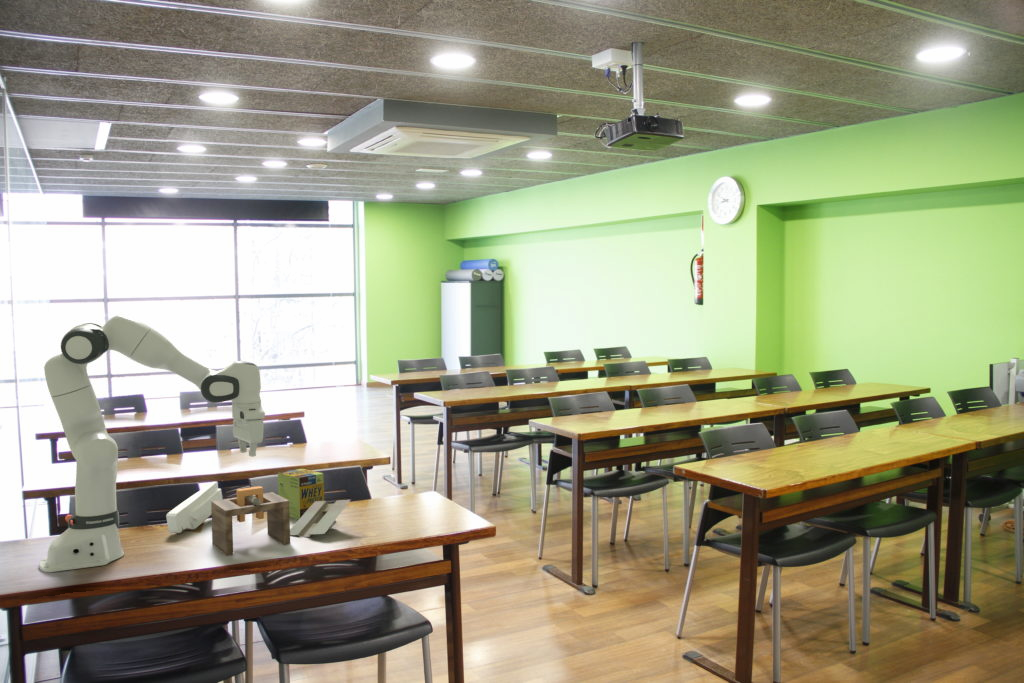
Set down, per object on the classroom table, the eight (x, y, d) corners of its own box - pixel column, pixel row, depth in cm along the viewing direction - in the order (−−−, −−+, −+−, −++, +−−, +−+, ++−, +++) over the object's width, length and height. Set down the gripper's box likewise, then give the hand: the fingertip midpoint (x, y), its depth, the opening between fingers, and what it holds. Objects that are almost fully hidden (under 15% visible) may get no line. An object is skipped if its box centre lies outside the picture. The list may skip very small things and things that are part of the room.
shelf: (226, 555, 237) (225, 504, 237) (212, 544, 250) (210, 494, 250) (290, 543, 249) (289, 494, 249) (273, 533, 262) (272, 486, 262)
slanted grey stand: (341, 551, 256) (362, 508, 267) (324, 533, 250) (346, 491, 262) (301, 552, 265) (323, 511, 277) (284, 535, 260) (307, 494, 271)
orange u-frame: (239, 522, 246) (239, 491, 246) (237, 520, 248) (236, 489, 248) (263, 518, 250) (263, 487, 250) (260, 516, 253) (260, 486, 253)
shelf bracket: (227, 515, 287) (222, 481, 284) (184, 551, 261) (178, 514, 258) (213, 515, 288) (207, 481, 285) (169, 551, 263) (162, 514, 260)
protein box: (300, 520, 278) (299, 477, 278) (278, 513, 289) (277, 472, 288) (325, 514, 286) (324, 473, 285) (302, 508, 296) (301, 467, 296)
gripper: (227, 409, 255) (228, 451, 256) (246, 415, 239) (247, 459, 239) (246, 407, 259) (247, 449, 259) (266, 413, 242) (267, 457, 243)
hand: (247, 454), depth 249 cm, fingers open, 8 cm apart
